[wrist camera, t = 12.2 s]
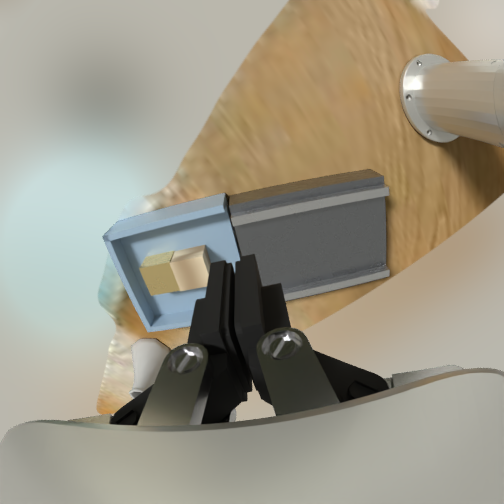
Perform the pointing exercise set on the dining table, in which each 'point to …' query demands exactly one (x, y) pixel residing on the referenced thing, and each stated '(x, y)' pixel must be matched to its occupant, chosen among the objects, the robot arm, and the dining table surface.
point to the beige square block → (191, 267)
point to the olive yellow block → (159, 274)
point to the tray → (165, 240)
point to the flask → (146, 363)
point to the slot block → (315, 232)
